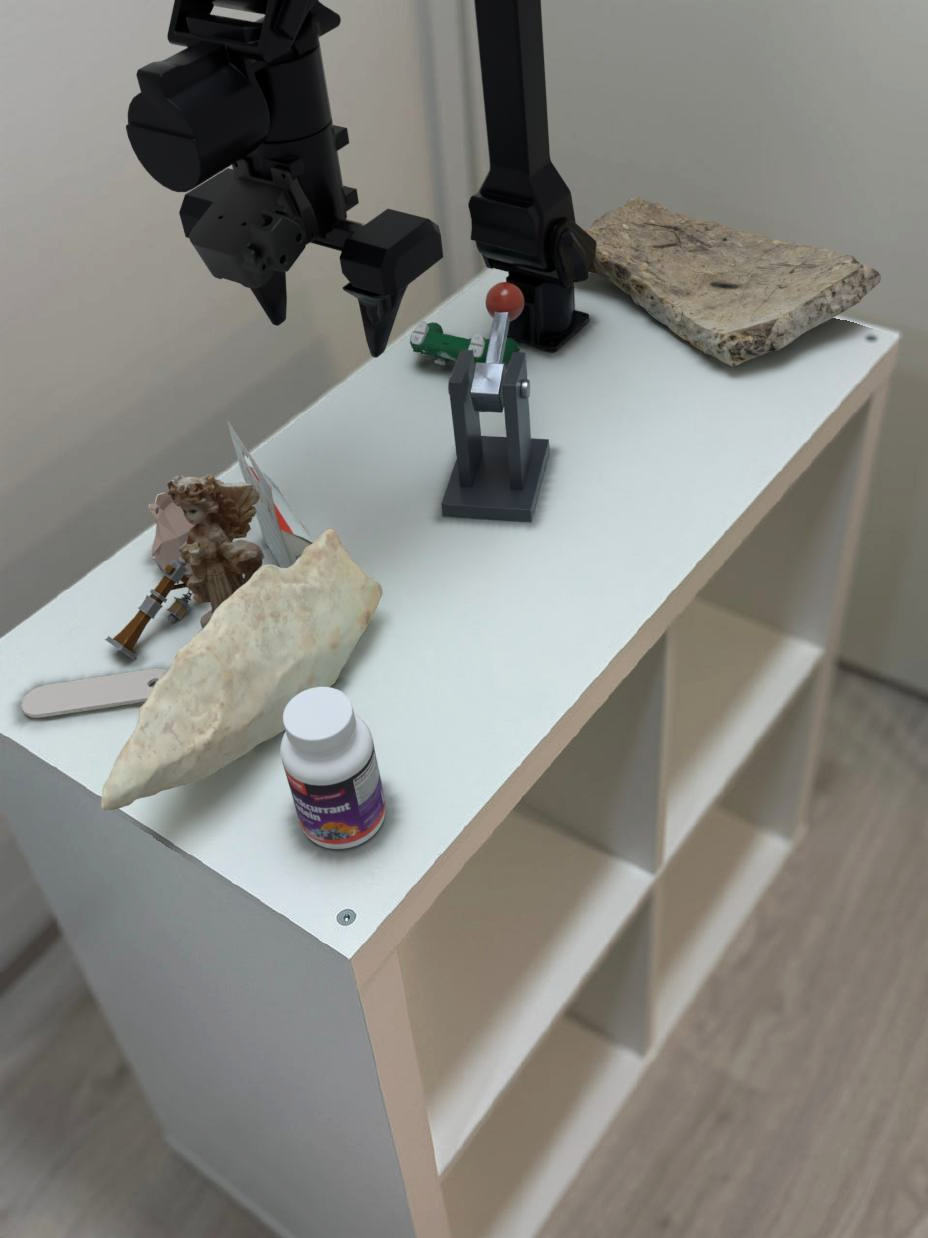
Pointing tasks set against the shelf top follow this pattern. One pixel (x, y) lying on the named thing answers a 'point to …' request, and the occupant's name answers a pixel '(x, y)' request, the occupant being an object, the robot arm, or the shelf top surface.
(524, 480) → the bracket
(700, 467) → the shelf top surface
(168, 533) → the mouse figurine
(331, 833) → the pill bottle
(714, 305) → the stone fragment
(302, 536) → the ink box
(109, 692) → the keychain
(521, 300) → the lever
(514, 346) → the gaming controller
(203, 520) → the figurine
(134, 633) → the wooden post with brackets
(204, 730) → the arrowhead
